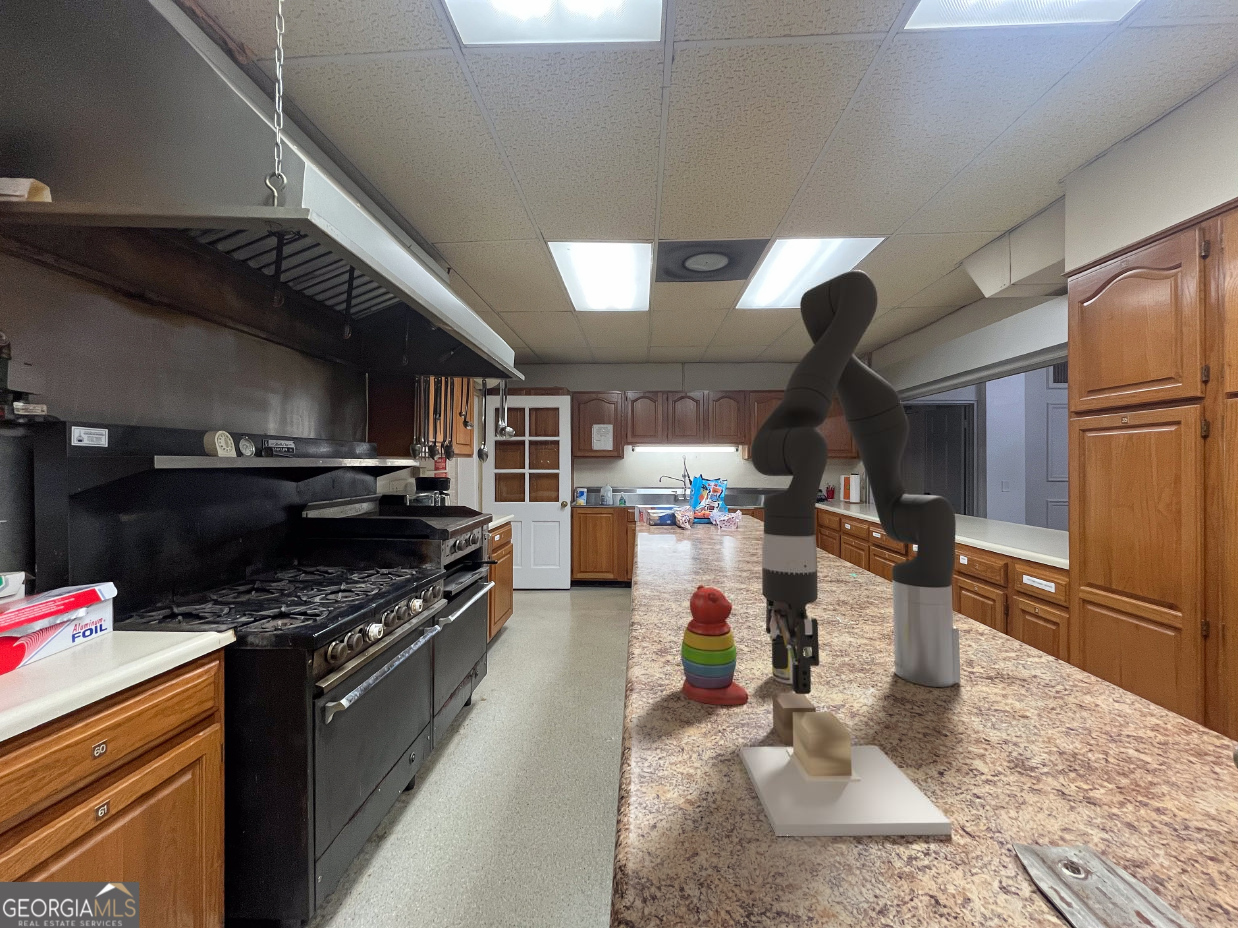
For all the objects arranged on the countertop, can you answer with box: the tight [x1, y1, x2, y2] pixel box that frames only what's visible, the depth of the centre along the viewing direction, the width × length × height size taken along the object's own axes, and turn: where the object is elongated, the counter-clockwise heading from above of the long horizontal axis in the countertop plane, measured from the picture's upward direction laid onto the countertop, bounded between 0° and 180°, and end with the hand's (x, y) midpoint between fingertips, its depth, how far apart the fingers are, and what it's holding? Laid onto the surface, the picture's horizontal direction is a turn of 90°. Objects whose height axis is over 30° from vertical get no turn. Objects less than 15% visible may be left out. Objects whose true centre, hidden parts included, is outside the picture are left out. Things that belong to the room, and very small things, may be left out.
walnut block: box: [771, 692, 817, 745], centre depth 67 cm, size 4×4×5 cm
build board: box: [739, 745, 953, 837], centre depth 55 cm, size 18×14×1 cm
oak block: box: [792, 711, 852, 776], centre depth 58 cm, size 5×5×5 cm
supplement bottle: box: [770, 641, 797, 685], centre depth 86 cm, size 5×5×10 cm
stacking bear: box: [680, 584, 749, 706], centre depth 81 cm, size 11×10×18 cm
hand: (790, 679), depth 68 cm, fingers open, 8 cm apart
